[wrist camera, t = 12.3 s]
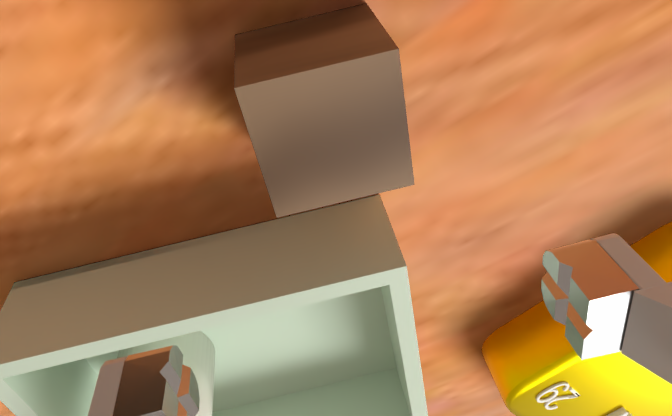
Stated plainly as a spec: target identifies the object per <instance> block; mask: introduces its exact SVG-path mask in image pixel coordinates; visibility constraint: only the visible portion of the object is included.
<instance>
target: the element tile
mask: <svg viewBox="0 0 672 416" xmlns="http://www.w3.org/2000/svg"><path fill="white" fill-rule="evenodd" d="M630 247H631V248H632V249H633V250H634V251H635V252H636V253H637V254H638V255H639V256H640V257H641V258H642V259H643V260H644V261H645V262H646V263H647V264H648V265H649V266H650V267H651V268H652V269H653V270H654V271H655V272H656V273H657V274H658V275H659V276H660V277H661V278H662V279H663V280H664V281H665V282H666V283H668V282H672V222H670V223H668V224H666V225H664V226H662V227H660V228H658V229H657V230H655V231H653V232H652V233H650V234H649V235H647V236H645V237H644V238H642V239H641V240H639V241H637V242H636V243H634V244H633V245H631V246H630ZM565 328H566V326H565V325H563V324H561V323H559V322H557V321H555V320H554V319H553V317H552V316H551V314H550V313H549V311H548V309H547V307H546V305H545V302H544V300H543V301H542V302H540V303H538V304H537V305H535V306H534V307H532V308H530V309H529V310H527V311H526V312H524V313H522V314H521V315H519V316H518V317H516V318H514V319H513V320H511V321H510V322H508V323H506V324H505V325H503V326H502V327H500V328H498V329H497V330H495V331H494V332H493V333H492V334H491V335H490V336H489V337H488V338H487V339H486V340H485V342H484V344H483V346H482V349H481V350H482V354H483V357H484V360H485V362H486V364H487V366H488V368H489V370H490V373H491V375H492V377H493V379H494V381H495V384H496V386H497V388H498V390H499V392H500V394H501V397H502V399H503V401H504V403H505V405H506V407H507V408H508V409H509V410H510V411H511V412H512V413H513V414H515V415H516V416H672V384H670V383H668V382H667V381H665V380H663V379H662V378H660V377H659V376H657V375H655V374H654V373H652V372H650V371H649V370H647V369H646V368H644V367H642V366H641V365H639V364H637V363H636V362H634V361H633V360H631V359H629V358H628V357H626V356H624V355H623V354H621V351H620V352H615V353H611V354H606V355H602V356H598V357H593V358H589V359H584V360H581V359H580V358H579V356H578V355H577V353H576V352H575V350H574V349H573V347H572V346H571V344H570V343H569V341H568V340H567V338H566V337H565Z"/></svg>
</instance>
